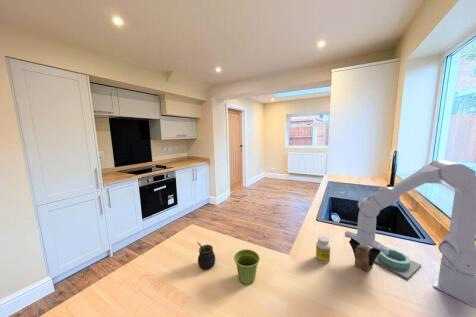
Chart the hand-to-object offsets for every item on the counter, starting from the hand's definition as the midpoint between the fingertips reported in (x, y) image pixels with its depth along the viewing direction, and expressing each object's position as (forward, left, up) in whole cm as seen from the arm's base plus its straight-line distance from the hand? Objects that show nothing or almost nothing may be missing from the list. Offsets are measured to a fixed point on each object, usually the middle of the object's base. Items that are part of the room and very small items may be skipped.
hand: (363, 261), depth 72 cm
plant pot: (+19, +43, -3) cm, 47 cm away
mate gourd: (+33, +54, -3) cm, 63 cm away
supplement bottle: (+11, +10, -3) cm, 15 cm away
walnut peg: (0, 0, -2) cm, 2 cm away
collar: (-5, -13, -2) cm, 14 cm away
